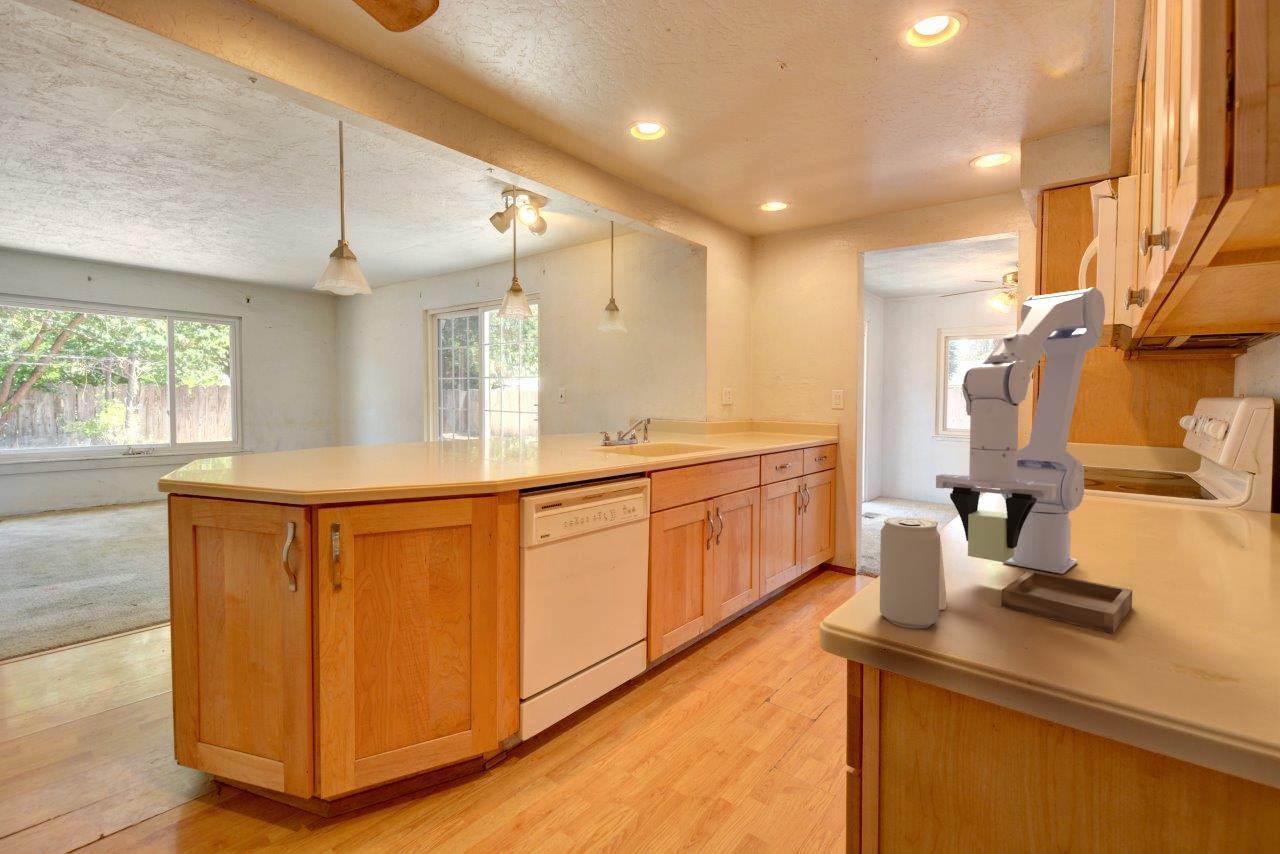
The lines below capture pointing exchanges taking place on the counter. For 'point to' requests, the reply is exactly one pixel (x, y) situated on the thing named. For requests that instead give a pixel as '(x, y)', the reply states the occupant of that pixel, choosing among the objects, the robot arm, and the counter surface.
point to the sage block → (988, 536)
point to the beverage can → (909, 572)
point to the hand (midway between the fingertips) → (991, 543)
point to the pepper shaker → (940, 576)
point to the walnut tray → (1068, 600)
